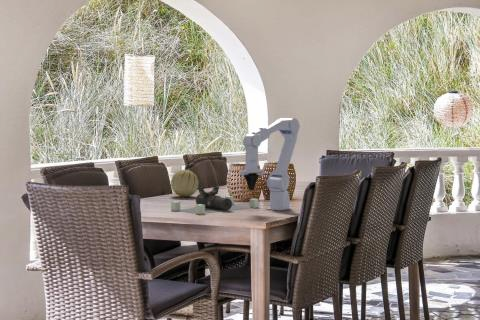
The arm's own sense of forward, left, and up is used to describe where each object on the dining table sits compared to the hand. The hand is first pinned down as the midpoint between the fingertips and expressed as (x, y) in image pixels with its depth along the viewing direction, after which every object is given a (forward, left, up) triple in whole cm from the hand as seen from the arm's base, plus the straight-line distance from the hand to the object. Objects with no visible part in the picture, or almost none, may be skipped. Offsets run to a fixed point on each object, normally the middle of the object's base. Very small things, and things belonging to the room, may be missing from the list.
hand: (251, 190), depth 376 cm
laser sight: (+3, -22, -11) cm, 24 cm away
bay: (+2, -20, -10) cm, 23 cm away
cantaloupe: (-25, -69, -11) cm, 74 cm away
